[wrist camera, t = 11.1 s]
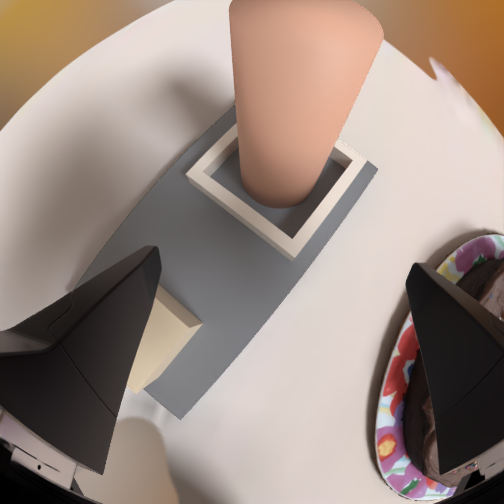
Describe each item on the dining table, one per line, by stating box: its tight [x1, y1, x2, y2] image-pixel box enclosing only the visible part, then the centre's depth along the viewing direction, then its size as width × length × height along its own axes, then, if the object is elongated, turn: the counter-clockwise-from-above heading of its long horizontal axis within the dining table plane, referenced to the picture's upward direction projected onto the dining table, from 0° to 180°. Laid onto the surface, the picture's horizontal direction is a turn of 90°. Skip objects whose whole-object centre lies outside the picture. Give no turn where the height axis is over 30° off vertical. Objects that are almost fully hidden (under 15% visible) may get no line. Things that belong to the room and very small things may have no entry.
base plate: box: [72, 105, 378, 420], centre depth 17 cm, size 12×23×6 cm, turn 141°
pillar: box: [229, 0, 384, 209], centre depth 13 cm, size 5×5×13 cm
